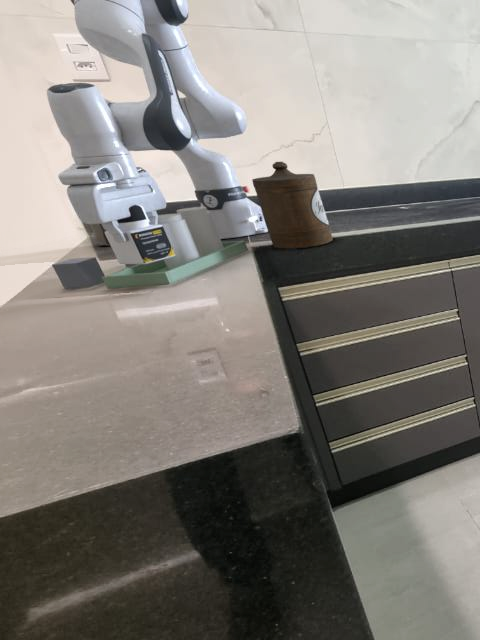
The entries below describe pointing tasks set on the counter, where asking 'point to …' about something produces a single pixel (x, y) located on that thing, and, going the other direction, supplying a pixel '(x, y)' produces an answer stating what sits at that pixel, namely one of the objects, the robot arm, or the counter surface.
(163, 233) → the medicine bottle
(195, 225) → the white bottle
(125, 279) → the tray
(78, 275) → the grey box
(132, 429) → the counter surface
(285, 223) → the wooden container
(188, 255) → the white bottle
